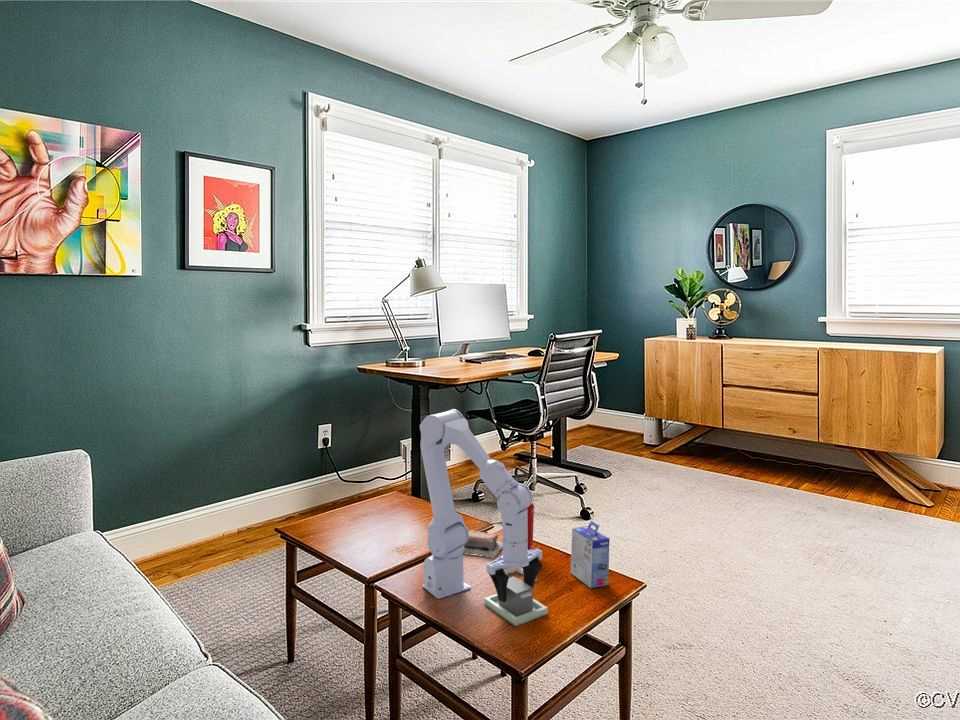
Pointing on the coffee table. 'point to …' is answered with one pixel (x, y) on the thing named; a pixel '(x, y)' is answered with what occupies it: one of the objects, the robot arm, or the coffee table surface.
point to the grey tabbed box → (518, 597)
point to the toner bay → (512, 569)
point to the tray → (536, 613)
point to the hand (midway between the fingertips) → (515, 595)
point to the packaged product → (482, 544)
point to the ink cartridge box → (590, 556)
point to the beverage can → (530, 525)
